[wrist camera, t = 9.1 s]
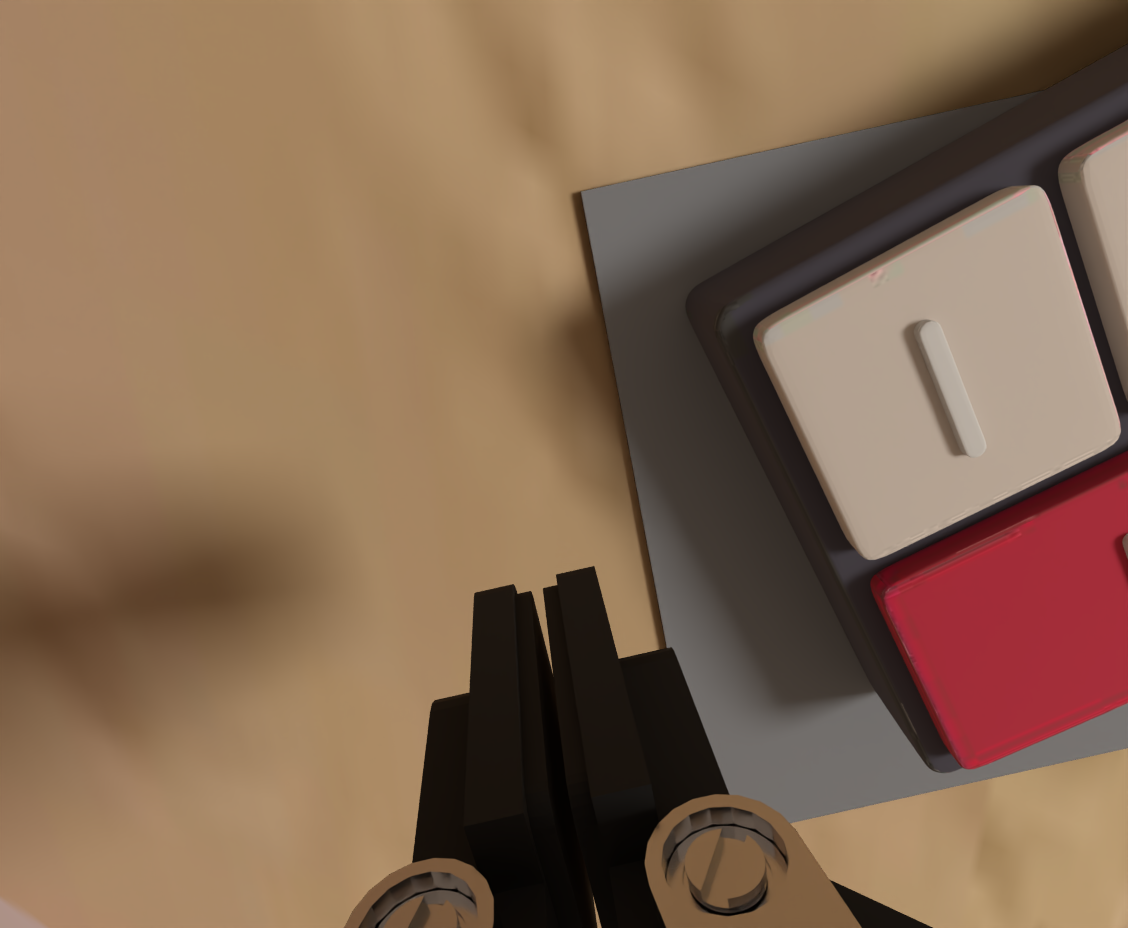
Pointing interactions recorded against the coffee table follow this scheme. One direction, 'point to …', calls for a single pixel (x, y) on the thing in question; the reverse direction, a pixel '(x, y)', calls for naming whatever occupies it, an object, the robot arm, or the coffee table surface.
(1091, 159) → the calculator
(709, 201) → the desk mat
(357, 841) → the coffee table surface
